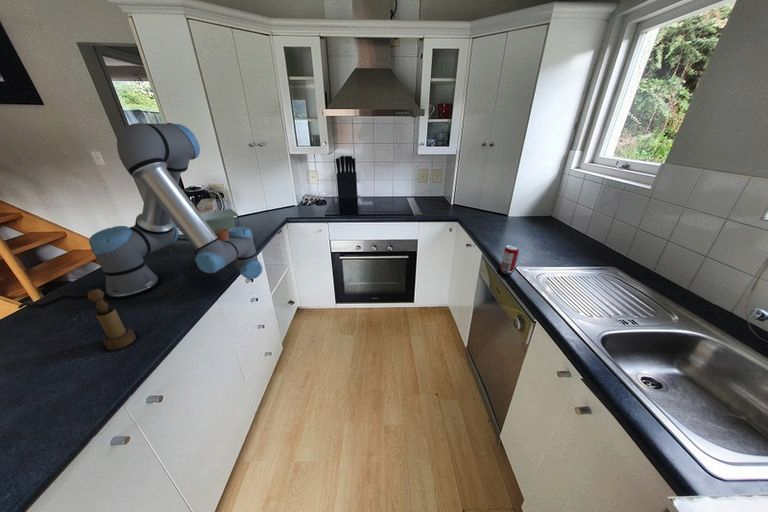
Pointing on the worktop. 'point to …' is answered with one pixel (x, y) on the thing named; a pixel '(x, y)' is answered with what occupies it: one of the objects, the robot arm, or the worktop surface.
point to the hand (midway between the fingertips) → (227, 242)
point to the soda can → (509, 258)
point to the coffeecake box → (207, 206)
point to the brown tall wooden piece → (111, 323)
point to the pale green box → (220, 219)
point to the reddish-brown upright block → (222, 234)
